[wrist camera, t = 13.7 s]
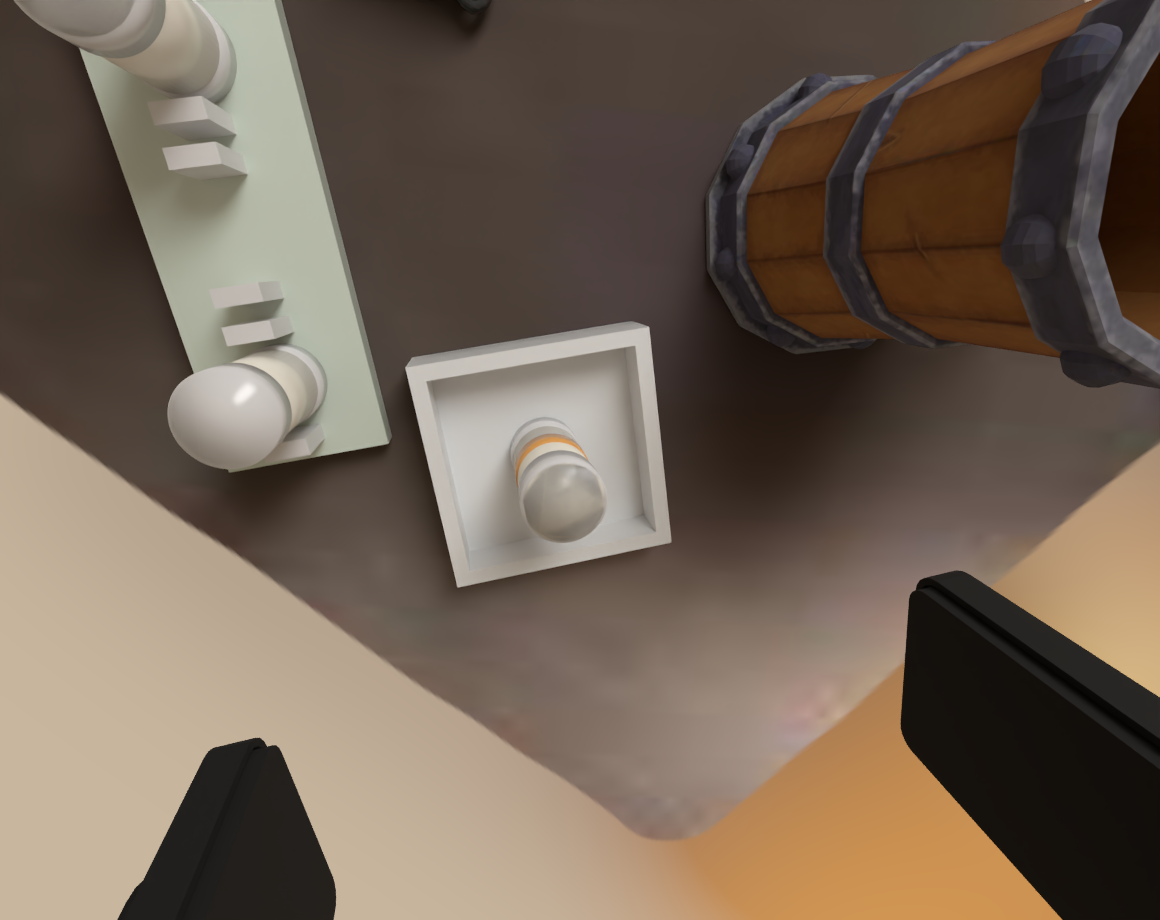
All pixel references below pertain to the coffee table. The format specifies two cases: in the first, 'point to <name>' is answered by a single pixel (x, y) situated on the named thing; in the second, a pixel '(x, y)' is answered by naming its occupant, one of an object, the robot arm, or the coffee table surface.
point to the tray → (517, 395)
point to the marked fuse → (556, 482)
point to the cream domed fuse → (148, 41)
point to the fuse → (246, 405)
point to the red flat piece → (474, 5)
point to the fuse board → (248, 224)
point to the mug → (960, 201)
